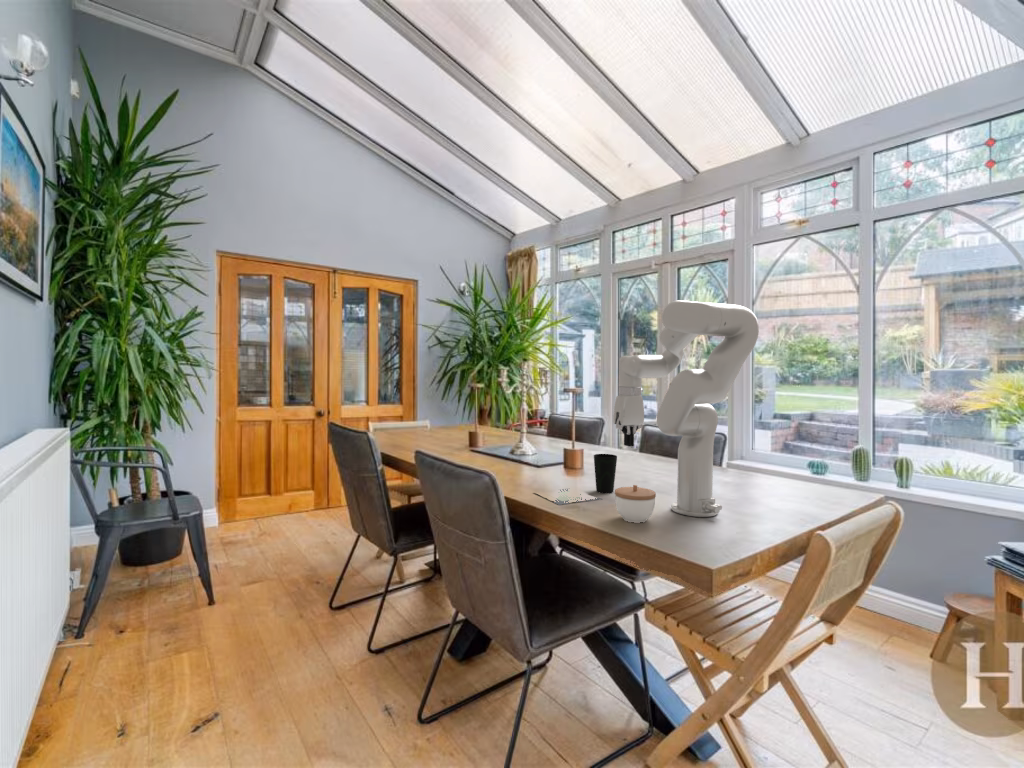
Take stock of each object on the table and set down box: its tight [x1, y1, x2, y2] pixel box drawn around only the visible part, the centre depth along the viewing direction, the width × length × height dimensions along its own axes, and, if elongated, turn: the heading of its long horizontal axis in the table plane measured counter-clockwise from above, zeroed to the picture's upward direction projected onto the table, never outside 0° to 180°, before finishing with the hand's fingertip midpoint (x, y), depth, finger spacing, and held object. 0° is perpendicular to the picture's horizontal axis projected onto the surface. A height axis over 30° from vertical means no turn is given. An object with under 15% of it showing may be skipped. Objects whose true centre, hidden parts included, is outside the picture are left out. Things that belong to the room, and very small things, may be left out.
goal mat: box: [553, 488, 602, 506], centre depth 160 cm, size 16×16×1 cm
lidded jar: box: [614, 484, 657, 524], centre depth 136 cm, size 11×11×9 cm
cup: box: [593, 453, 618, 494], centre depth 167 cm, size 8×8×12 cm
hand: (628, 445), depth 171 cm, fingers closed
